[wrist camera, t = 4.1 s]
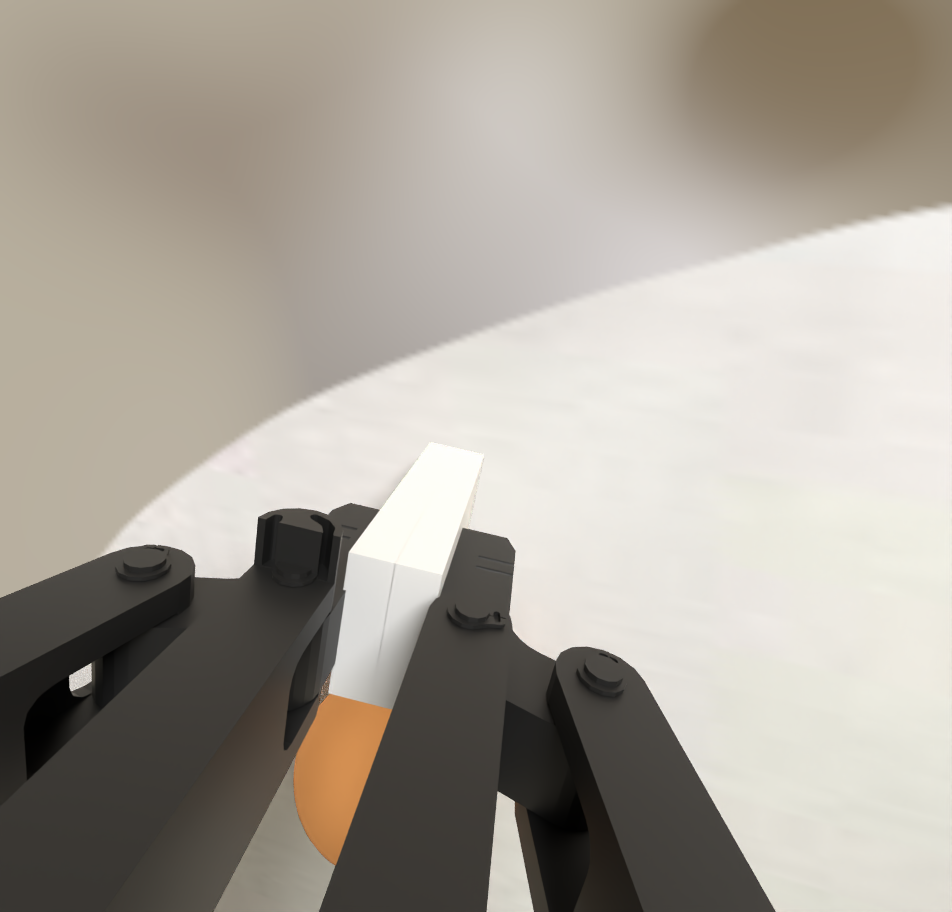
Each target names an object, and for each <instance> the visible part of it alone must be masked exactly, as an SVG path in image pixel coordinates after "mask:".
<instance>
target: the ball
mask: <svg viewBox="0 0 952 912" xmlns="http://www.w3.org/2000/svg"><path fill="white" fill-rule="evenodd" d="M391 711H392V709H388V708H384V707H380V706H376V705H372V704H368V703H364V702H360V701H357V700H353V699H349V698H345V697H341V696H337V695H333V694H329V695H328V696H327V697H326V699H325V700H324V701H323V702H322V703H321V704H320V705H319V707H318V711H317V715H316V717H315V719H314V721H313V723H312V725H311V727H310V729H309V731H308V733H307V735H306V736H305V738H304V740H303V742H302V744H301V746H300V748H299V750H298V752H297V754H296V759H295V766H294V780H293V782H294V796H295V802H296V807H297V811H298V815H299V818H300V820H301V823H302V825H303V827H304V830H305V832H306V834H307V836H308V837H309V839H310V841H311V842H312V843H313V844H314V846H315V847H316V848H317V850H318V851H319V852H320V853H321V854H322V855H323V856H324V857H325V858H326V859H327V860H328V861H330V862H331V863H332V864H334V865H335V866H336V863H337V861H338V858H339V855H340V852H341V850H342V847H343V844H344V841H345V839H346V836H347V833H348V830H349V827H350V825H351V822H352V819H353V816H354V814H355V811H356V808H357V805H358V803H359V800H360V797H361V794H362V792H363V789H364V786H365V783H366V780H367V778H368V775H369V772H370V769H371V767H372V764H373V761H374V758H375V756H376V753H377V750H378V747H379V745H380V742H381V739H382V736H383V733H384V731H385V728H386V725H387V722H388V720H389V717H390V714H391Z"/></svg>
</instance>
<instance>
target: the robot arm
mask: <svg viewBox="0 0 952 912" xmlns="http://www.w3.org/2000/svg"><path fill="white" fill-rule="evenodd" d="M484 455H485V454H481V453H476V452H472V451H468V450H463V449H459V448H454V447H450V446H446V445H441V444H437V443H433V442H430V443H429V445H428V446H427V447H426V449H425V450H424V451H423V453H422V454H421V455H420V457H419V458H418V459H417V461H416V462H415V463H414V465H413V466H412V467H411V469H410V470H409V472H408V473H407V474H406V476H405V477H404V478H403V480H402V481H401V482H400V484H399V485H398V486H397V488H396V489H395V490H394V492H393V493H392V494H391V496H390V497H389V499H388V500H387V501H386V503H385V504H384V505H383V507H382V508H381V509H380V510H378V509H374V508H369V507H365V506H361V505H357V504H352V503H349V504H347V505H344V506H342V507H339V508H336V509H334V510H332V511H331V512H330V513H329V515H327V514H324V513H321V512H318V511H314V510H307V509H300V508H298V509H280V510H276V511H271V512H268V513H266V514H264V515H262V516H260V517H258V525H257V537H256V548H255V560H254V565H253V566H252V567H251V568H250V569H249V570H248V571H247V572H246V573H244V574H243V575H242V576H241V577H240V578H239V579H220V578H198V577H195V564H194V561H193V559H192V557H191V556H190V555H188V554H187V553H185V552H184V551H182V550H179V549H175V548H171V547H168V546H161V545H158V546H156V545H144V546H138V547H129V548H126V549H122V550H119V551H116V552H112V553H110V554H107V555H105V556H102V557H100V558H97V559H95V560H92V561H90V562H88V563H85V564H83V565H80V566H78V567H75V568H73V569H70V570H68V571H65V572H63V573H60V574H58V575H56V576H53V577H51V578H48V579H46V580H43V581H41V582H39V583H36V584H33V585H31V586H29V587H26V588H24V589H21V590H19V591H16V592H14V593H11V594H9V595H6V596H4V597H2V598H0V912H213V911H214V909H215V907H216V905H217V903H218V902H219V900H220V898H221V896H222V894H223V892H224V890H225V888H226V886H227V884H228V883H229V881H230V879H231V877H232V875H233V873H234V871H235V869H236V867H237V866H238V864H239V862H240V860H241V858H242V856H243V854H244V852H245V850H246V848H247V847H248V845H249V843H250V841H251V839H252V837H253V835H254V833H255V831H256V829H257V828H258V826H259V824H260V822H261V820H262V818H263V816H264V814H265V812H266V810H267V809H268V807H269V805H270V803H271V801H272V799H273V797H274V795H275V793H276V792H277V790H278V788H279V786H280V784H281V782H282V780H283V778H284V776H285V774H286V773H287V771H288V769H289V767H290V765H291V763H292V761H293V759H294V757H295V755H296V754H297V752H298V750H299V748H300V746H301V744H302V742H303V740H304V738H305V736H306V735H307V733H308V731H309V729H310V727H311V725H312V723H313V721H314V719H315V717H316V715H317V711H318V707H319V701H320V693H321V688H322V686H323V684H324V683H325V681H326V679H327V677H328V675H329V674H330V672H331V678H330V685H329V691H328V693H329V694H333V695H337V696H341V697H345V698H349V699H353V700H357V701H360V702H364V703H368V704H372V705H376V706H380V707H384V708H388V709H392V711H391V714H390V717H389V720H388V722H387V725H386V728H385V731H384V733H383V736H382V739H381V742H380V745H379V747H378V750H377V753H376V756H375V758H374V761H373V764H372V767H371V769H370V772H369V775H368V778H367V780H366V783H365V786H364V789H363V792H362V794H361V797H360V800H359V803H358V805H357V808H356V811H355V814H354V816H353V819H352V822H351V825H350V827H349V830H348V833H347V836H346V839H345V841H344V844H343V847H342V850H341V852H340V855H339V858H338V861H337V863H336V866H335V869H334V872H333V874H332V877H331V880H330V883H329V886H328V888H327V891H326V894H325V897H324V899H323V902H322V905H321V908H320V910H319V912H486V910H487V899H488V888H489V877H490V866H491V855H492V845H493V834H494V823H495V812H496V801H497V791H499V792H500V793H502V794H504V795H505V796H507V797H509V798H510V799H512V800H514V801H515V817H516V822H517V827H518V832H519V838H520V843H521V848H522V853H523V858H524V863H525V868H526V873H527V878H528V883H529V888H530V894H531V899H532V904H533V909H534V912H775V910H774V908H773V906H772V905H771V903H770V901H769V899H768V897H767V896H766V894H765V892H764V890H763V889H762V887H761V885H760V883H759V882H758V880H757V878H756V876H755V875H754V873H753V871H752V869H751V868H750V866H749V864H748V862H747V861H746V859H745V857H744V855H743V854H742V852H741V850H740V848H739V847H738V845H737V843H736V841H735V839H734V838H733V836H732V834H731V832H730V831H729V829H728V827H727V825H726V824H725V822H724V820H723V818H722V817H721V815H720V813H719V811H718V810H717V808H716V806H715V804H714V803H713V801H712V799H711V797H710V796H709V794H708V792H707V790H706V788H705V787H704V785H703V783H702V781H701V780H700V778H699V776H698V774H697V773H696V771H695V769H694V767H693V766H692V764H691V762H690V760H689V759H688V757H687V755H686V753H685V752H684V750H683V748H682V746H681V745H680V743H679V741H678V739H677V738H676V736H675V734H674V732H673V730H672V729H671V727H670V725H669V723H668V722H667V720H666V718H665V716H664V715H663V713H662V711H661V709H660V708H659V706H658V704H657V702H656V701H655V699H654V697H653V695H652V694H651V692H650V690H649V688H648V687H647V685H646V683H645V681H644V680H643V679H642V677H641V676H640V675H639V674H638V673H637V671H636V670H635V669H634V668H633V667H632V666H630V665H629V664H627V663H626V662H625V661H623V660H622V659H621V658H619V657H617V656H615V655H613V654H610V653H609V652H606V651H604V650H600V649H595V648H591V647H572V648H570V649H567V650H565V651H563V652H561V653H560V655H559V657H558V658H557V660H556V661H555V660H553V659H551V658H549V657H547V656H545V655H542V654H540V653H539V652H537V651H535V650H534V649H532V648H530V647H529V646H527V645H526V644H525V643H524V642H522V641H521V640H520V639H519V638H518V636H517V635H516V634H515V633H514V632H513V630H512V622H511V618H510V616H509V611H510V601H511V591H512V581H513V571H514V561H515V550H514V548H513V546H512V545H511V543H510V542H509V540H508V539H507V538H504V537H500V536H496V535H491V534H487V533H483V532H479V531H474V530H470V529H469V524H470V520H471V515H472V510H473V506H474V501H475V497H476V492H477V487H478V483H479V478H480V473H481V469H482V464H483V460H484ZM90 663H92V682H90V683H88V684H87V685H85V686H84V687H81V688H79V689H76V690H74V691H70V688H69V675H71V674H73V673H75V672H76V671H78V670H80V669H81V668H83V667H85V666H87V665H88V664H90ZM331 670H332V671H331Z"/></svg>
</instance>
